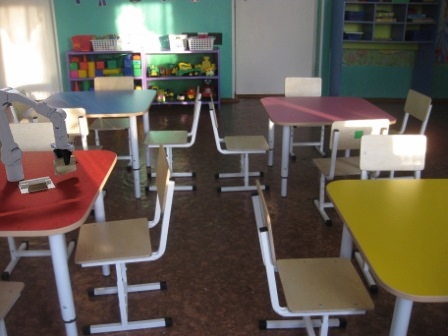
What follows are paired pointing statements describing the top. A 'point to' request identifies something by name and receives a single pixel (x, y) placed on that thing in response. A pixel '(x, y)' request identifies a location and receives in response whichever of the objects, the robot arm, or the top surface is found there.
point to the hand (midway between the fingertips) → (64, 164)
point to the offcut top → (37, 184)
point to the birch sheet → (64, 166)
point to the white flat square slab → (24, 184)
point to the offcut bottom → (37, 188)
